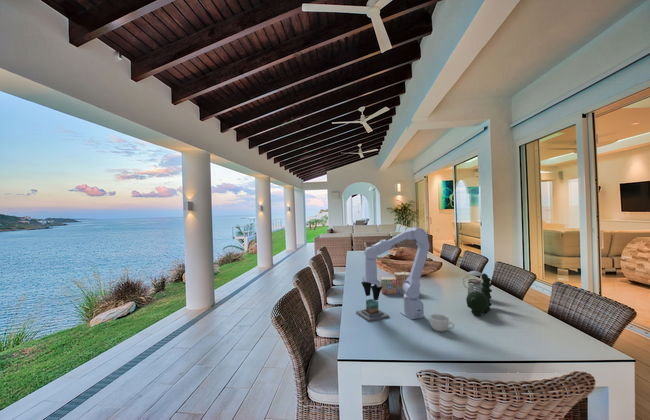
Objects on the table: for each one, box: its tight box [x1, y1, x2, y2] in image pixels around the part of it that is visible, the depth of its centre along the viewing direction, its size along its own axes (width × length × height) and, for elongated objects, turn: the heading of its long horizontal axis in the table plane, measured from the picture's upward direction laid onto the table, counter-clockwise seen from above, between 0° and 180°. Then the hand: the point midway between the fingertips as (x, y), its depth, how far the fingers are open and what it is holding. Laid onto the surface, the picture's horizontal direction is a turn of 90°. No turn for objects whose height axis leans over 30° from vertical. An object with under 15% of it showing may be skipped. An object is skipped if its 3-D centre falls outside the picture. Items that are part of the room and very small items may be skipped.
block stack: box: [365, 298, 379, 315], centre depth 141 cm, size 4×4×6 cm
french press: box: [462, 254, 483, 297], centre depth 165 cm, size 10×12×25 cm
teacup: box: [429, 313, 455, 333], centre depth 122 cm, size 10×8×5 cm
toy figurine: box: [465, 273, 493, 317], centre depth 142 cm, size 10×19×26 cm
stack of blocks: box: [379, 271, 411, 295], centre depth 178 cm, size 21×6×12 cm, turn 87°
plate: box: [355, 308, 390, 322], centre depth 141 cm, size 12×12×2 cm
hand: (371, 297), depth 141 cm, fingers open, 7 cm apart
